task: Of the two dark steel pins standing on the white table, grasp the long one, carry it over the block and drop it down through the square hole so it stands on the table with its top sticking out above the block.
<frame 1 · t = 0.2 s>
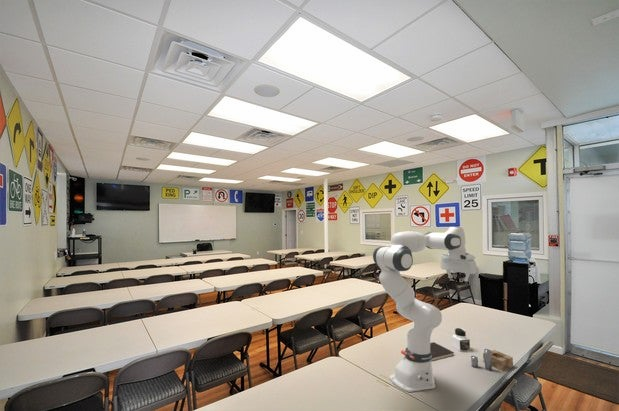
hand: (458, 279, 155), 47 cm above the table, fingers open, 8 cm apart
hardcover book: (429, 354, 167), on the table
medicine bottle: (461, 348, 173), on the table
long pin: (488, 369, 148), on the table
short pin: (474, 366, 151), on the table
hole block: (498, 364, 153), on the table
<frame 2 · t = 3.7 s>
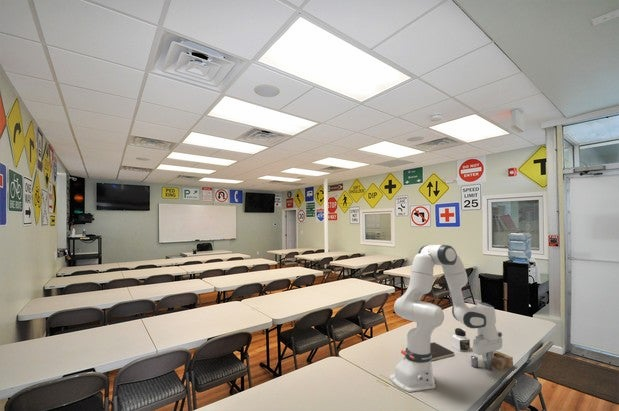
hand: (488, 359, 149), 5 cm above the table, fingers closed on long pin, 3 cm apart
long pin: (488, 369, 148), on the table, touching gripper
everything else where it was.
when the fingers open (7 cm above the table, at t = 8.2 s): long pin drops 1 cm, resting in hole block.
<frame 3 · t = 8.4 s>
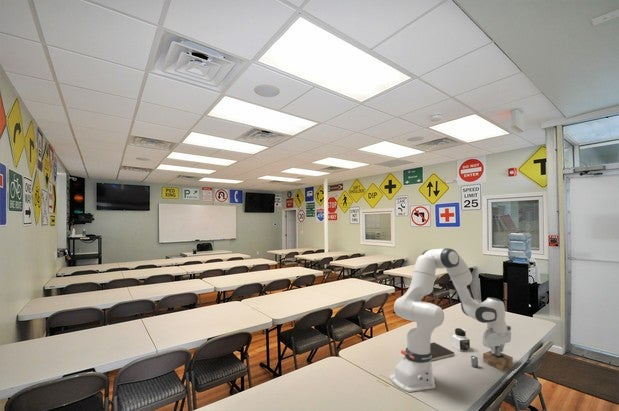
hand: (497, 352, 154), 7 cm above the table, fingers open, 5 cm apart
long pin: (497, 364, 153), resting in hole block
everything else where it was.
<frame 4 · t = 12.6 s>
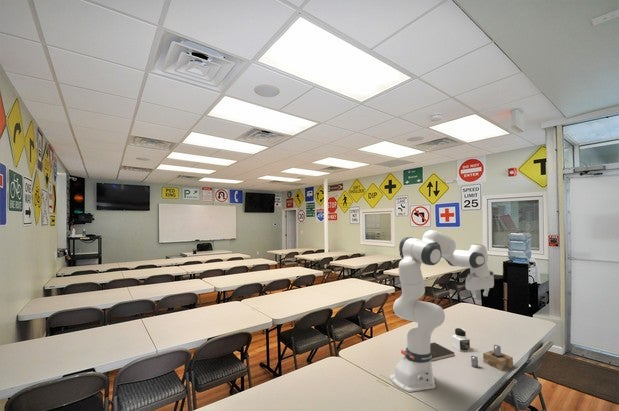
hand: (480, 296, 157), 37 cm above the table, fingers open, 8 cm apart
nothing on the table moved.
at the end: long pin 0.1 cm off-centre on the hole block, point 0.0 cm above the hole block's base; long pin tilted 0°; short pin moved 0.0 cm from its start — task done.
